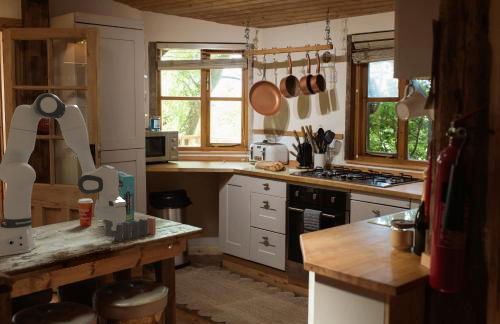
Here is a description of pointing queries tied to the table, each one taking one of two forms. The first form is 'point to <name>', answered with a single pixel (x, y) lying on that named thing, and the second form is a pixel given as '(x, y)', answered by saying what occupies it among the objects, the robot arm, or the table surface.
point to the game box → (127, 194)
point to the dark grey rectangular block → (109, 229)
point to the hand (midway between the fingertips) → (109, 229)
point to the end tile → (151, 225)
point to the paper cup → (85, 212)
